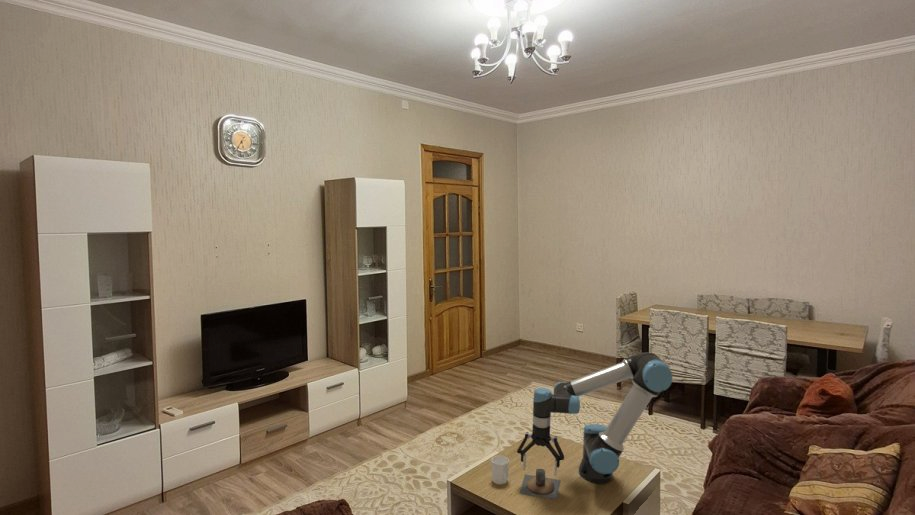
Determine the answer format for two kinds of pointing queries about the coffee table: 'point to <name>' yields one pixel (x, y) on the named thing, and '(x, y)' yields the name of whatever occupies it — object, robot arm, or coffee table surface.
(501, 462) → the white cup
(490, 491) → the coffee table surface
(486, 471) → the coffee table surface
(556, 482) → the mat
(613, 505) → the coffee table surface
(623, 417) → the robot arm
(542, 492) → the lid
